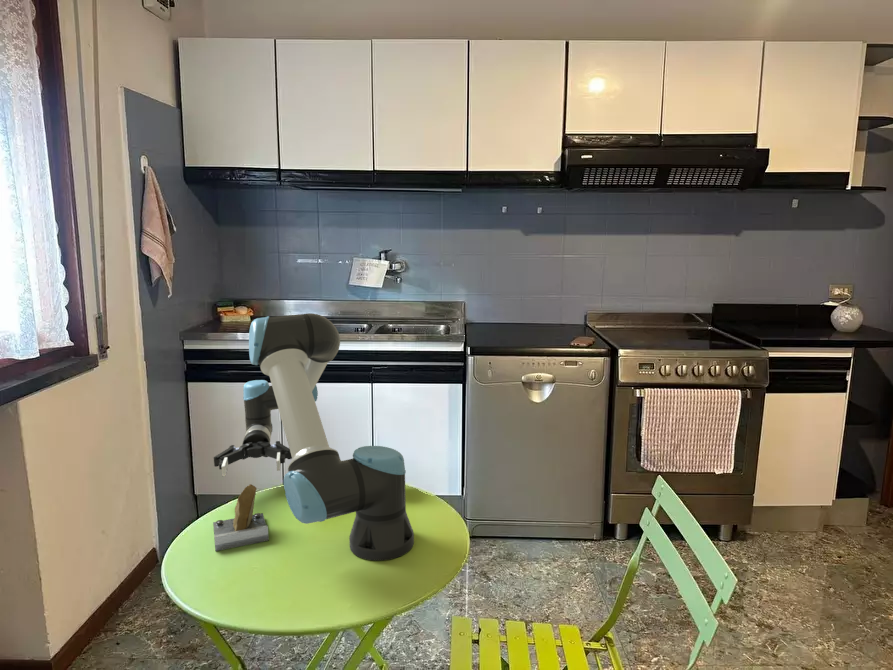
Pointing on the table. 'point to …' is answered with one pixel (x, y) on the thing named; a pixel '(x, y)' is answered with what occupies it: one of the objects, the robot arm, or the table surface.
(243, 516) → the rock
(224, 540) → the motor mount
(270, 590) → the table surface
